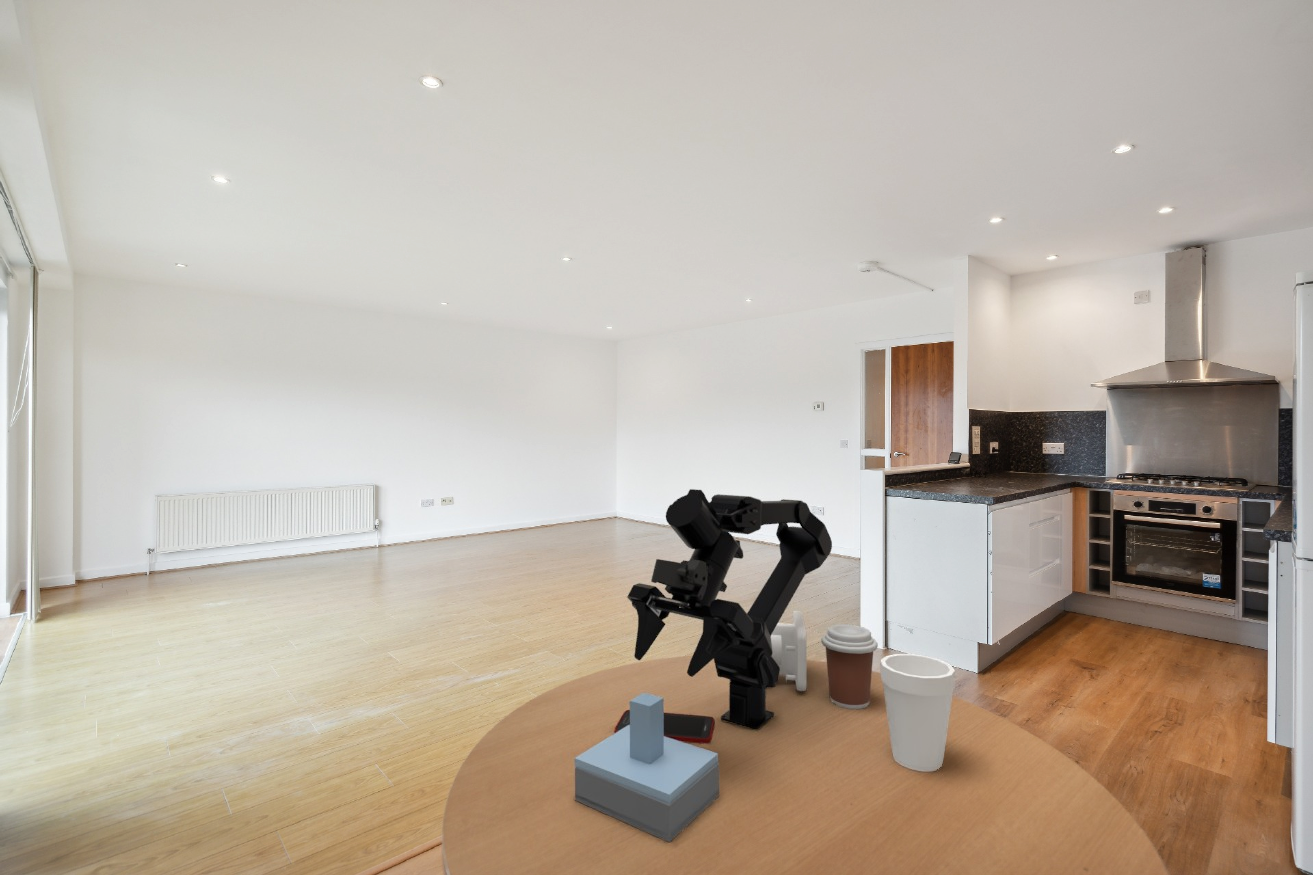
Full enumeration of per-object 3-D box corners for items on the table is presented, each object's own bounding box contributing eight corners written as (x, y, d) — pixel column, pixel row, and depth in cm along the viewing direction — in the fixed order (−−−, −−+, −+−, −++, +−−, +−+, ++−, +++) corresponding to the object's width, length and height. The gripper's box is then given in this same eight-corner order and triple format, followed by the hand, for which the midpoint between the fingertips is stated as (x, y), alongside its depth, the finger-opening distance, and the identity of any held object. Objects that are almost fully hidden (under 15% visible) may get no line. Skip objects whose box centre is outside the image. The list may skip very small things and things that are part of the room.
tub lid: (628, 731, 86) (628, 673, 86) (718, 761, 78) (717, 697, 78) (574, 766, 77) (574, 701, 77) (669, 803, 69) (669, 730, 69)
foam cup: (954, 751, 88) (954, 659, 88) (955, 784, 80) (955, 682, 80) (883, 738, 92) (883, 650, 92) (877, 767, 84) (877, 671, 84)
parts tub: (629, 762, 85) (629, 733, 85) (719, 795, 77) (719, 763, 77) (575, 800, 76) (575, 767, 76) (669, 842, 68) (669, 805, 68)
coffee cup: (876, 693, 109) (875, 624, 109) (879, 715, 100) (879, 640, 100) (822, 687, 111) (821, 620, 111) (821, 708, 103) (820, 635, 103)
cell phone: (625, 714, 101) (625, 708, 101) (715, 722, 98) (715, 716, 98) (612, 737, 94) (612, 730, 94) (710, 746, 91) (710, 739, 91)
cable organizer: (807, 699, 106) (807, 631, 106) (745, 695, 108) (744, 628, 108) (802, 668, 121) (802, 608, 121) (747, 665, 123) (747, 606, 123)
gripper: (632, 529, 93) (581, 623, 85) (738, 542, 81) (689, 653, 73) (668, 570, 99) (623, 661, 91) (772, 588, 87) (730, 695, 79)
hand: (662, 666), depth 83 cm, fingers open, 9 cm apart
